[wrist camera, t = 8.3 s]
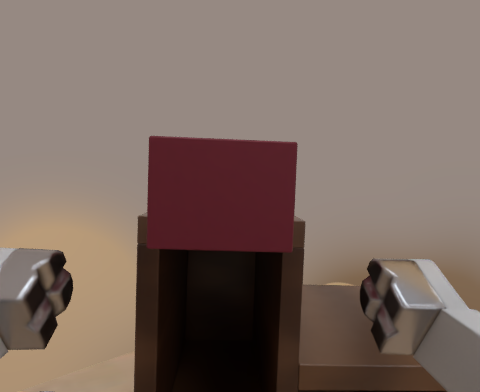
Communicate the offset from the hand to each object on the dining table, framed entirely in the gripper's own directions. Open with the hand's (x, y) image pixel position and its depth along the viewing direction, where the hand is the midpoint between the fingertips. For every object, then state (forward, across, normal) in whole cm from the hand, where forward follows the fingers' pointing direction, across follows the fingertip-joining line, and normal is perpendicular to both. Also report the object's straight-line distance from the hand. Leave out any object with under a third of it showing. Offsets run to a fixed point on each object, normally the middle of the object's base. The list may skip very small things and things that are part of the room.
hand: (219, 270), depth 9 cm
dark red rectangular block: (+9, 0, -5) cm, 11 cm away
